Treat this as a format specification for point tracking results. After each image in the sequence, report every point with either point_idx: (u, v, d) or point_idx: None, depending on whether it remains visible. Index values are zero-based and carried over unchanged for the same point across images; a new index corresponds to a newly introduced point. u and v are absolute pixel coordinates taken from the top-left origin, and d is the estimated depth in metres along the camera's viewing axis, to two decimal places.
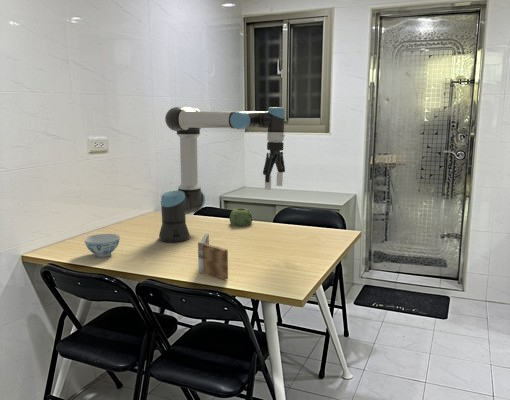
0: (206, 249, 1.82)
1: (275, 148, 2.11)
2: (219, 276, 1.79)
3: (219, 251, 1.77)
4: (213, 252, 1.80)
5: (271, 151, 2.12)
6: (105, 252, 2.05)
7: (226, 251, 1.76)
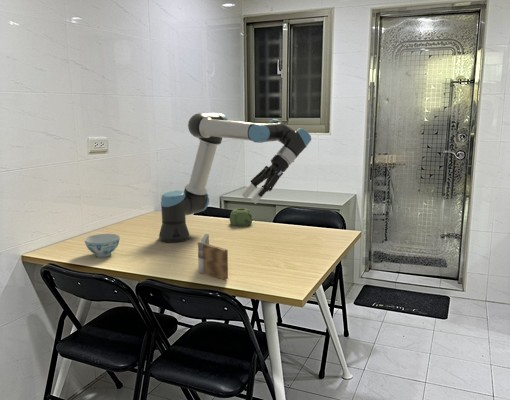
0: (206, 249, 1.82)
1: (284, 168, 1.95)
2: (219, 276, 1.79)
3: (219, 251, 1.77)
4: (213, 252, 1.80)
5: (279, 168, 1.94)
6: (105, 252, 2.05)
7: (226, 251, 1.76)
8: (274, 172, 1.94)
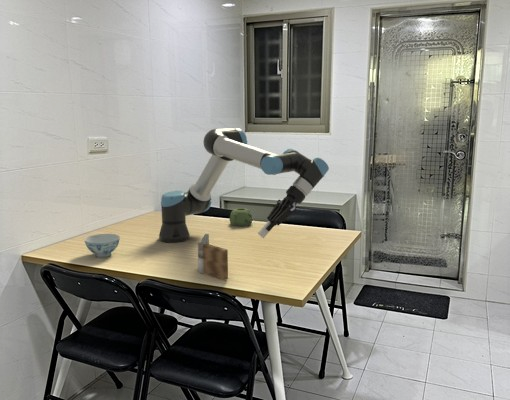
0: (206, 249, 1.82)
1: (300, 200, 1.84)
2: (219, 276, 1.79)
3: (219, 251, 1.77)
4: (213, 252, 1.80)
5: (296, 200, 1.83)
6: (105, 252, 2.05)
7: (226, 251, 1.76)
8: (290, 205, 1.83)
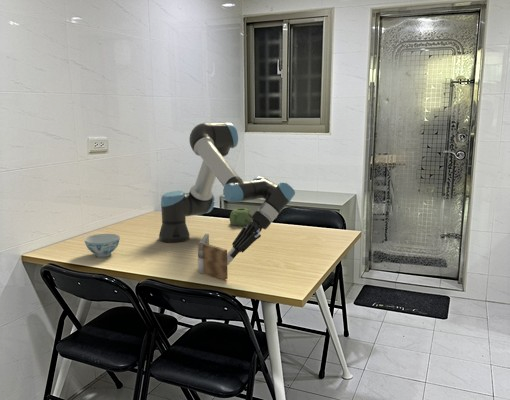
0: (206, 249, 1.82)
1: (265, 226, 1.80)
2: (219, 276, 1.79)
3: (219, 251, 1.77)
4: (213, 252, 1.80)
5: (260, 226, 1.79)
6: (105, 252, 2.05)
7: (226, 251, 1.76)
8: (255, 231, 1.79)
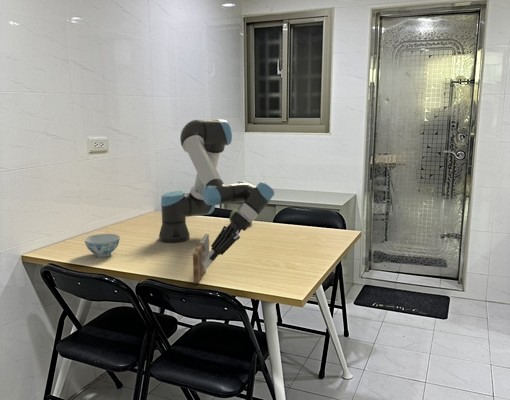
0: None
1: (244, 227, 1.78)
2: None
3: None
4: None
5: (239, 227, 1.76)
6: (105, 252, 2.05)
7: (195, 255, 1.71)
8: (233, 232, 1.76)
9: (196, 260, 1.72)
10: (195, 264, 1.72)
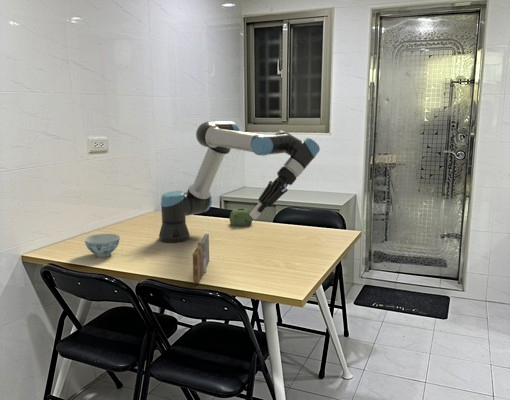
0: None
1: (291, 181, 1.84)
2: None
3: None
4: None
5: (287, 181, 1.83)
6: (105, 252, 2.05)
7: (195, 255, 1.71)
8: (281, 186, 1.83)
9: (196, 260, 1.72)
10: (195, 264, 1.72)
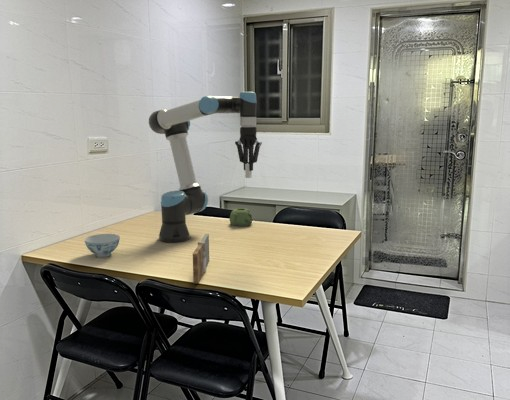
0: None
1: None
2: None
3: None
4: None
5: (255, 136, 2.13)
6: (105, 252, 2.05)
7: (195, 255, 1.71)
8: (254, 142, 2.14)
9: (196, 260, 1.72)
10: (195, 264, 1.72)
